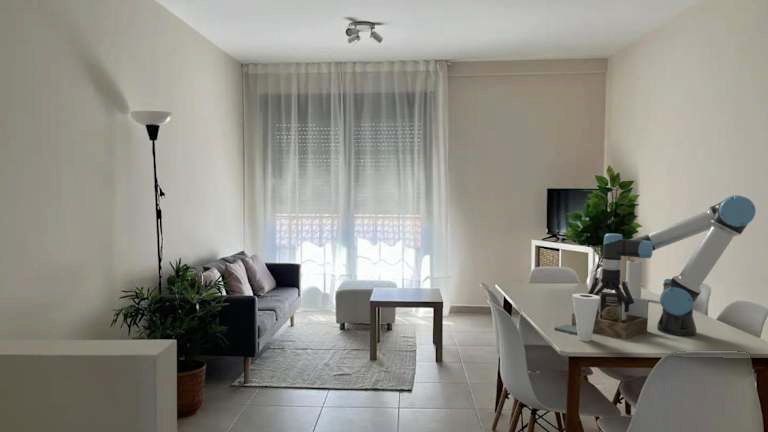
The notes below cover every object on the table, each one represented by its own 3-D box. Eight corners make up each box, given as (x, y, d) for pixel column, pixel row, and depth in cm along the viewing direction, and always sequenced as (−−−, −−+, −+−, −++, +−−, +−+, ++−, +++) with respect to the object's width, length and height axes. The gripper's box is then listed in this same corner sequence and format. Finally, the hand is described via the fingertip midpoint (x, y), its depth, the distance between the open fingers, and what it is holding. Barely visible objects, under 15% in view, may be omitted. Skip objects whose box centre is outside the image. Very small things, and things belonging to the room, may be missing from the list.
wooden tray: (647, 331, 235) (647, 317, 235) (624, 339, 222) (625, 324, 221) (595, 320, 253) (596, 307, 253) (571, 327, 240) (572, 313, 240)
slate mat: (587, 331, 234) (587, 328, 233) (575, 334, 227) (575, 332, 227) (567, 326, 241) (567, 324, 241) (554, 329, 235) (554, 327, 235)
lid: (647, 317, 235) (648, 299, 234) (647, 317, 234) (647, 299, 234) (596, 307, 253) (596, 291, 253) (595, 308, 253) (595, 291, 252)
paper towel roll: (622, 296, 313) (624, 260, 312) (631, 296, 315) (632, 260, 314) (632, 299, 307) (633, 262, 306) (640, 298, 308) (642, 261, 307)
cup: (566, 339, 220) (567, 295, 219) (578, 334, 227) (579, 292, 226) (591, 344, 212) (593, 299, 211) (602, 339, 220) (604, 296, 219)
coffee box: (599, 330, 235) (600, 293, 235) (597, 326, 242) (598, 291, 241) (621, 331, 233) (623, 295, 233) (618, 328, 240) (620, 292, 239)
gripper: (643, 271, 229) (641, 320, 230) (589, 264, 248) (587, 309, 249) (635, 273, 224) (633, 323, 225) (580, 265, 243) (578, 311, 244)
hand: (608, 316), depth 237 cm, fingers open, 13 cm apart
